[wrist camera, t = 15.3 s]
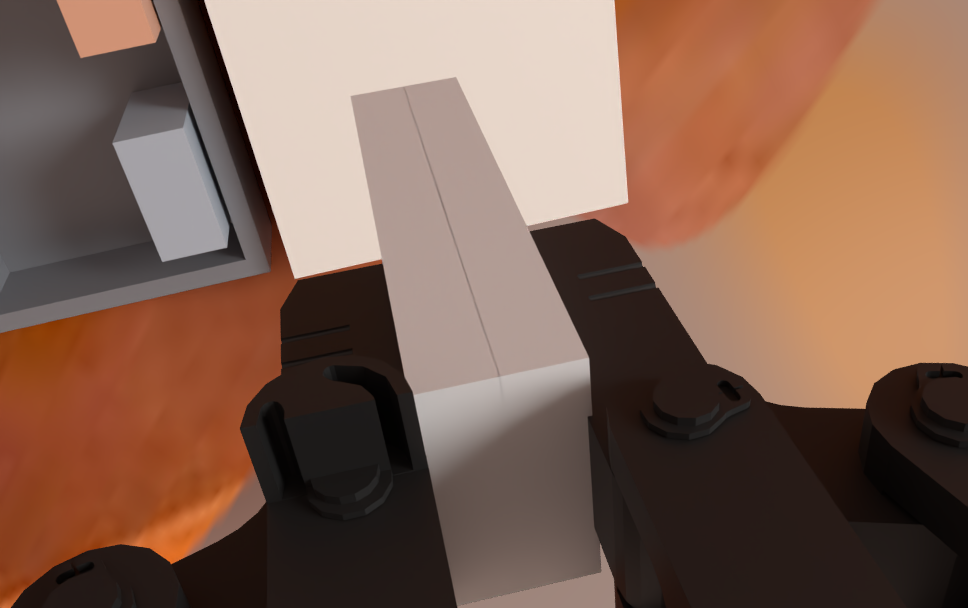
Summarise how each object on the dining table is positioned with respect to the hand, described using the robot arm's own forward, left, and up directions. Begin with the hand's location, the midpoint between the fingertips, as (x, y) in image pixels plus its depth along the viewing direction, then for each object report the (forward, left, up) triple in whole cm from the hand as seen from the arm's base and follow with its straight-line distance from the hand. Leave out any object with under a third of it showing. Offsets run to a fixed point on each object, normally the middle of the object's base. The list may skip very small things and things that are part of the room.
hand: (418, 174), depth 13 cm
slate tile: (+8, -7, -22) cm, 25 cm away
